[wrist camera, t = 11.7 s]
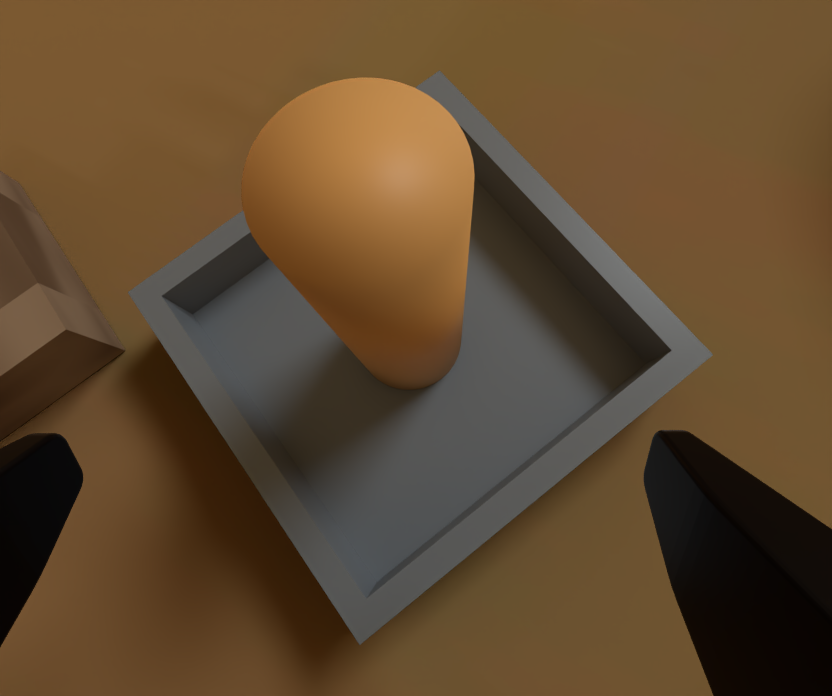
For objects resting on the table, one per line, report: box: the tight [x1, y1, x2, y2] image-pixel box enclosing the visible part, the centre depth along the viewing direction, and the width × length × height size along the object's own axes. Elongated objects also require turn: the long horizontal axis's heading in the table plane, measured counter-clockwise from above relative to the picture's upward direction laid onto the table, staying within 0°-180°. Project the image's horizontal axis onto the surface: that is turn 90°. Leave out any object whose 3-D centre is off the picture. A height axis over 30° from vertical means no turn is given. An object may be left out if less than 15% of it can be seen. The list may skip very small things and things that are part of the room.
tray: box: [128, 71, 713, 645], centre depth 17 cm, size 13×13×3 cm
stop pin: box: [241, 78, 475, 390], centre depth 12 cm, size 4×4×10 cm
